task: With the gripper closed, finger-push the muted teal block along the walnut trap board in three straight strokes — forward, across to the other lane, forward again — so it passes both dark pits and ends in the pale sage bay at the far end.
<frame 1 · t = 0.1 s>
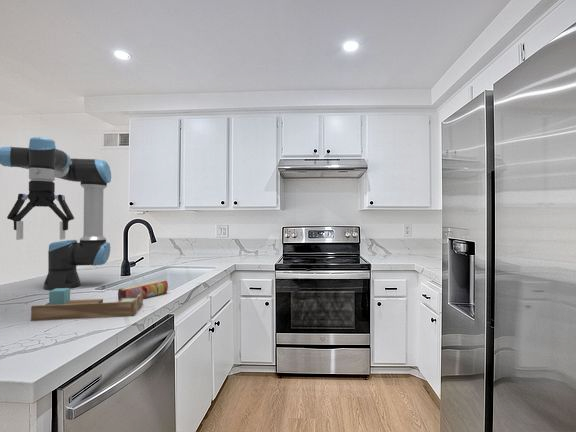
hand: (41, 239, 118), 28 cm above the countertop, tool pointing down, fingers open, 13 cm apart
teal block: (59, 302, 124), point 3 cm above the countertop, touching trap board
trap board: (90, 311, 123), on the countertop
snack package: (143, 298, 145), on the countertop
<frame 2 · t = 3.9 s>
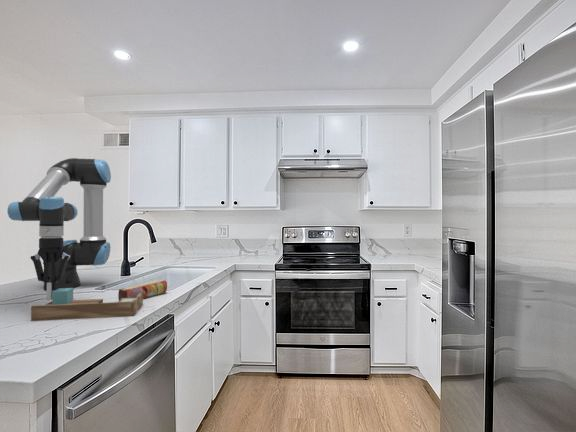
hand: (50, 299, 123), 5 cm above the countertop, tool pointing down, fingers closed
teal block: (63, 302, 124), point 3 cm above the countertop, touching gripper
everything else where it was.
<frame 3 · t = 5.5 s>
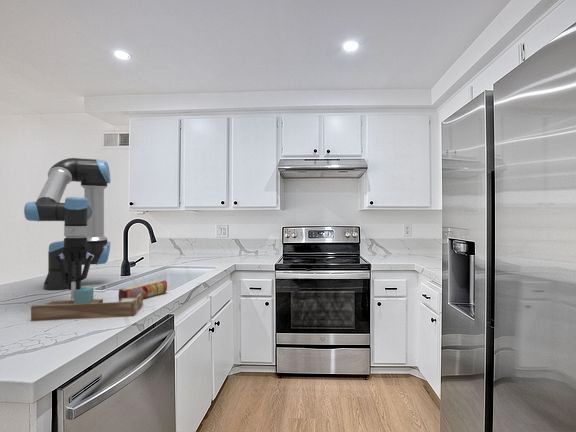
hand: (74, 298, 125), 5 cm above the countertop, tool pointing down, fingers closed
teal block: (83, 301, 126), point 3 cm above the countertop, touching gripper, trap board
everything else where it was.
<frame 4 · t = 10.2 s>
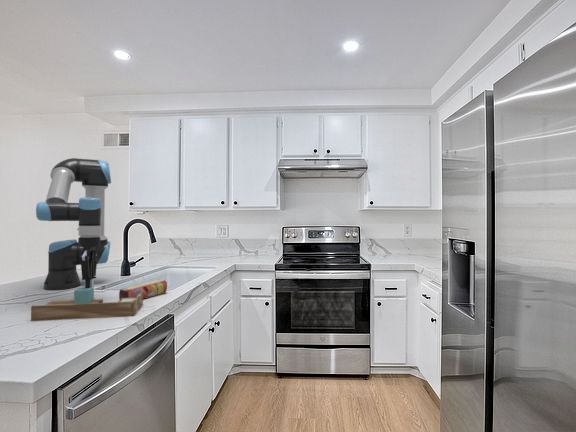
hand: (89, 295, 129), 5 cm above the countertop, tool pointing down, fingers closed
teal block: (84, 301, 125), point 3 cm above the countertop, touching gripper
everything else where it was.
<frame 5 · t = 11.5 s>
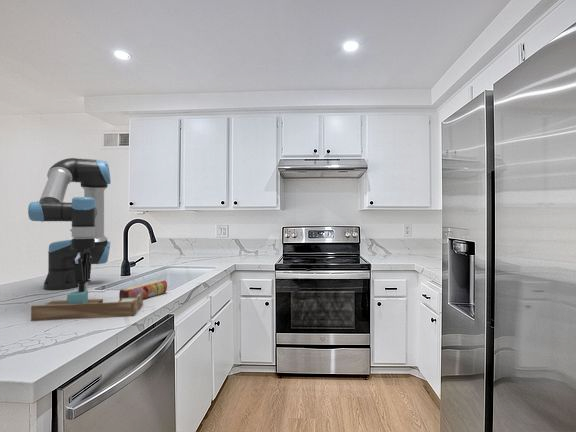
hand: (82, 299, 123), 5 cm above the countertop, tool pointing down, fingers closed
teal block: (77, 306, 120), point 3 cm above the countertop, touching gripper, trap board
everything else where it was.
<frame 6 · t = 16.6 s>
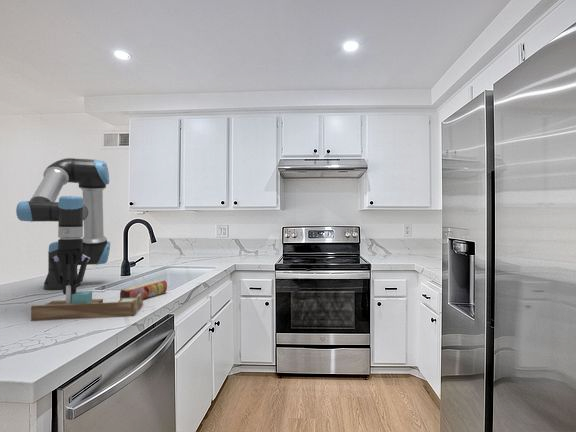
hand: (69, 302, 118), 5 cm above the countertop, tool pointing down, fingers closed
teal block: (82, 306, 120), point 3 cm above the countertop, touching trap board
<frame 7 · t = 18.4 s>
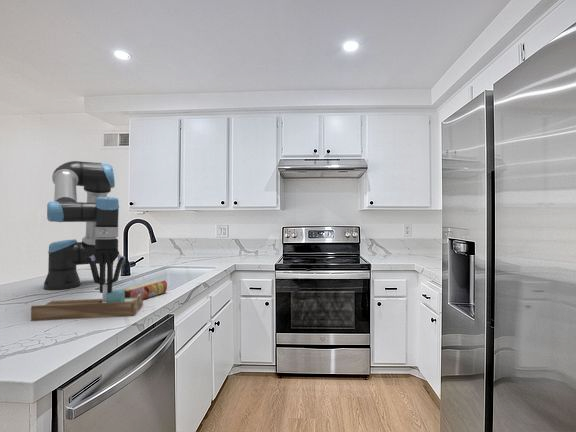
hand: (105, 301, 121), 5 cm above the countertop, tool pointing down, fingers closed
teal block: (115, 304, 122), point 3 cm above the countertop, touching gripper
everything else where it was.
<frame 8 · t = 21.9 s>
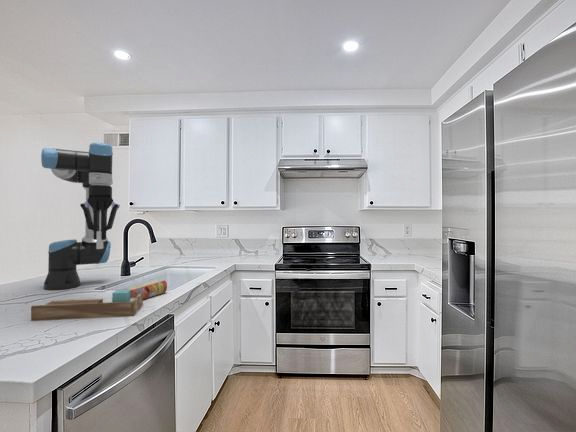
hand: (99, 248, 120), 24 cm above the countertop, tool pointing down, fingers closed
teal block: (121, 304, 123), point 3 cm above the countertop, touching trap board
at the end: teal block inside the target area on the trap board (2.9 cm from its centre), point 3.0 cm above the trap board's base; teal block tilted 0° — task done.
